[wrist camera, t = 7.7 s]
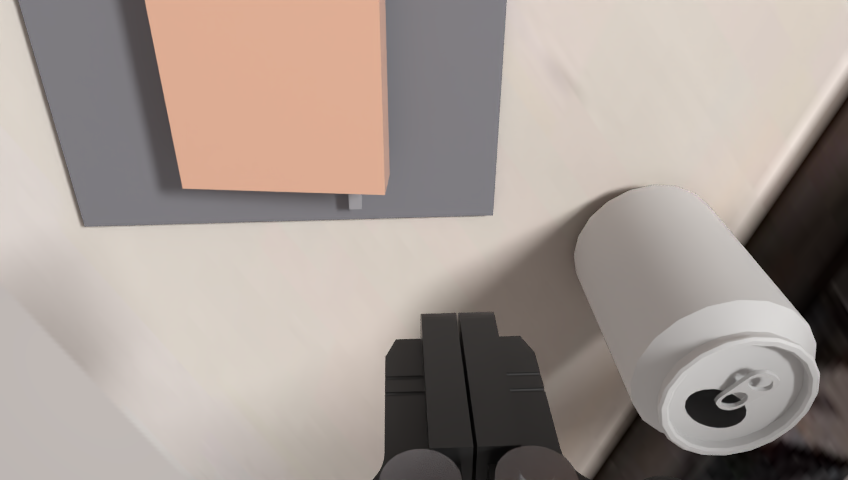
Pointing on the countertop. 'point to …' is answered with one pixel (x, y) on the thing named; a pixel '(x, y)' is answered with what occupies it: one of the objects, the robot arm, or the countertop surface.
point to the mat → (171, 204)
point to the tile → (275, 93)
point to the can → (694, 323)
